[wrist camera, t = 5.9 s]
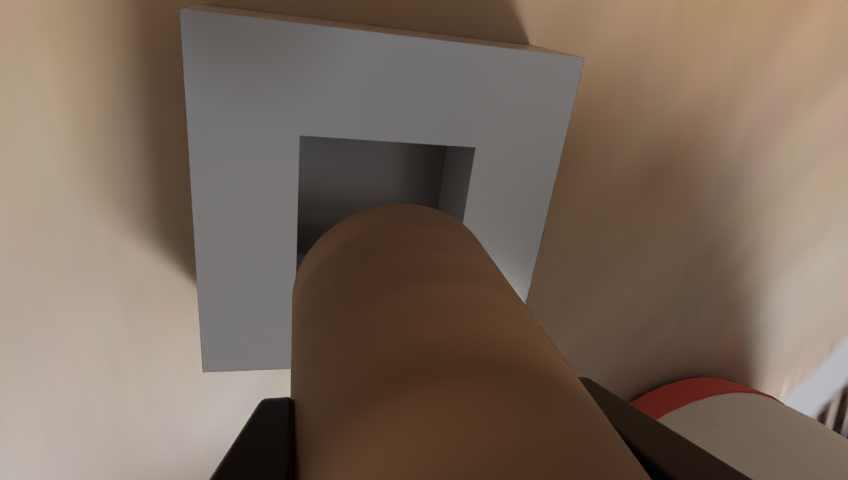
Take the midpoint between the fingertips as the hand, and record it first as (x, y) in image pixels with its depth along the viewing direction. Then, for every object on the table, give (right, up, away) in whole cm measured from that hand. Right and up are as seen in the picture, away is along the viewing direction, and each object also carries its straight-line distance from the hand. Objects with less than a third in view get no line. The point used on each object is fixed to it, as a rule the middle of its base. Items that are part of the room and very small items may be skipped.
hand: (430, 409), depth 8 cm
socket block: (-2, +5, +12) cm, 13 cm away
